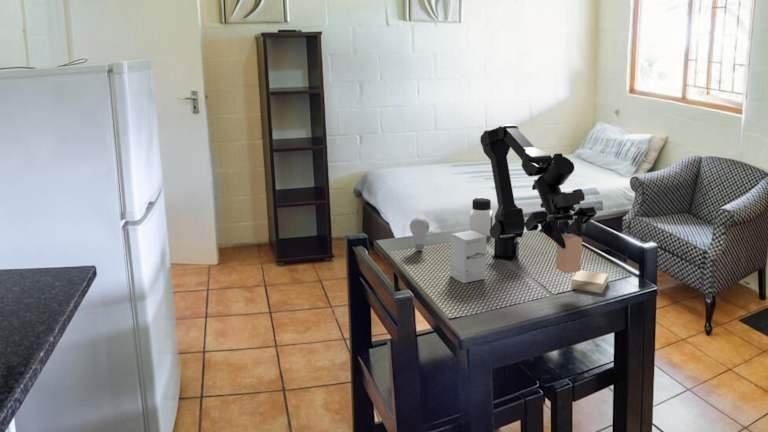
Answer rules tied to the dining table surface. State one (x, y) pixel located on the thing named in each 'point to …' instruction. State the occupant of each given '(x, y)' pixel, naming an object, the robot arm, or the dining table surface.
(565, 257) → the terracotta pillar
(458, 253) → the supplement box
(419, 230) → the lightbulb
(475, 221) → the medicine bottle
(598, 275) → the beech block
